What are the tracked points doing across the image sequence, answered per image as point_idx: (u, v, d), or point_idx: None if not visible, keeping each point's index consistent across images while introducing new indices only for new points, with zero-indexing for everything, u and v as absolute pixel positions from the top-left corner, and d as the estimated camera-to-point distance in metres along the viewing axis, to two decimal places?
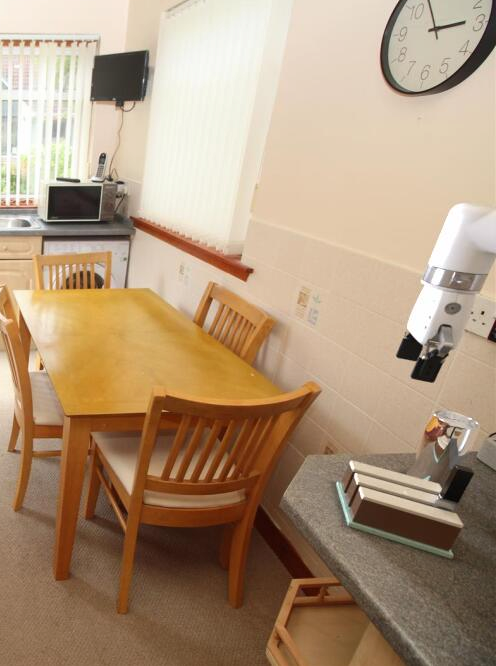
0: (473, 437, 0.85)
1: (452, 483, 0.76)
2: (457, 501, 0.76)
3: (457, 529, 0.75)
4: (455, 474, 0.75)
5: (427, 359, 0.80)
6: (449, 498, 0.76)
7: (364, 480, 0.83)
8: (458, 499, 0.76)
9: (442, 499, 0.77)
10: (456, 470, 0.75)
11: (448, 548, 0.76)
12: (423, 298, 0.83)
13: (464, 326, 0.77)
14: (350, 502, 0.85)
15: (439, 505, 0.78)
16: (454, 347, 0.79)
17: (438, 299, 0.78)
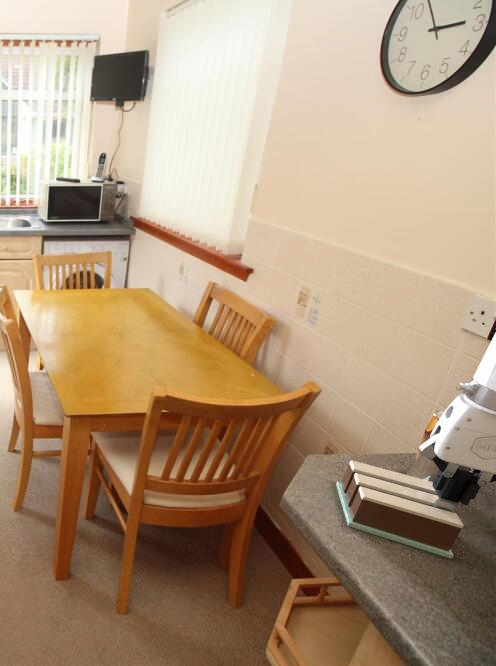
0: None
1: None
2: (457, 501, 0.76)
3: (457, 529, 0.75)
4: (455, 474, 0.75)
5: None
6: (449, 498, 0.76)
7: (364, 480, 0.83)
8: (458, 499, 0.76)
9: (442, 499, 0.77)
10: (456, 470, 0.75)
11: (448, 548, 0.76)
12: None
13: (447, 433, 0.72)
14: (350, 502, 0.85)
15: (439, 505, 0.78)
16: (436, 453, 0.74)
17: None
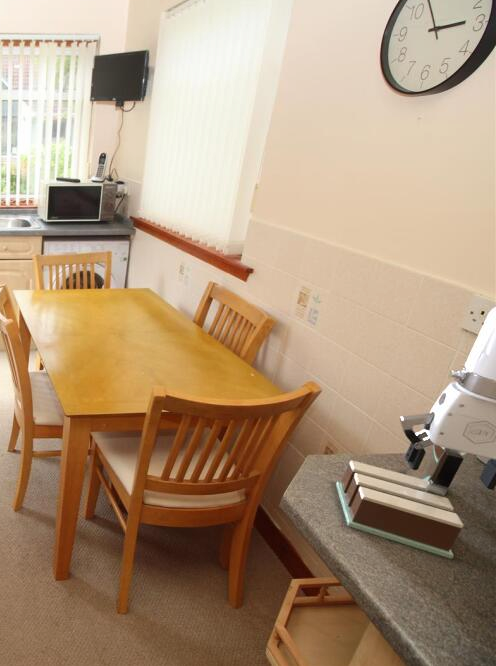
0: None
1: (443, 469, 0.79)
2: (447, 486, 0.79)
3: (457, 529, 0.75)
4: (446, 459, 0.78)
5: None
6: (440, 483, 0.80)
7: (364, 480, 0.83)
8: (448, 484, 0.79)
9: (433, 484, 0.80)
10: (446, 456, 0.78)
11: (448, 548, 0.76)
12: None
13: (440, 419, 0.76)
14: (350, 502, 0.85)
15: (430, 490, 0.81)
16: (430, 438, 0.77)
17: None
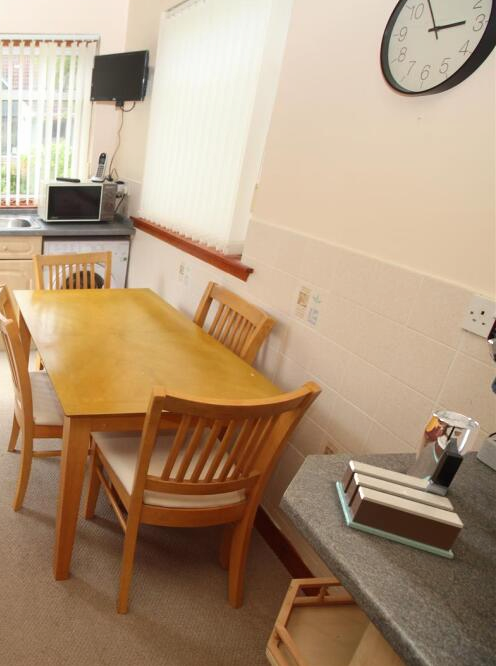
0: (473, 437, 0.85)
1: (443, 469, 0.79)
2: (447, 486, 0.79)
3: (457, 529, 0.75)
4: (446, 459, 0.78)
5: None
6: (440, 483, 0.80)
7: (364, 480, 0.83)
8: (448, 484, 0.79)
9: (433, 484, 0.80)
10: (446, 456, 0.78)
11: (448, 548, 0.76)
12: None
13: None
14: (350, 502, 0.85)
15: (430, 490, 0.81)
16: None
17: None
